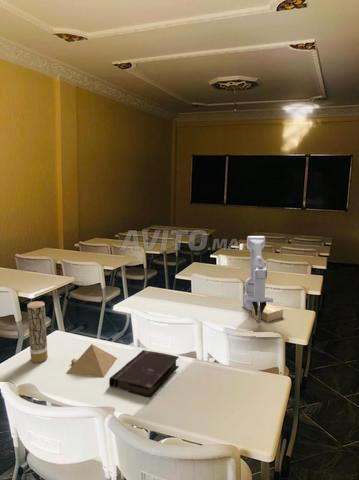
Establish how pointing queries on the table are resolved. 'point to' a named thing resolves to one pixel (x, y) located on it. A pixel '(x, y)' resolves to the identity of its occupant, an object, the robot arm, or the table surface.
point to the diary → (145, 373)
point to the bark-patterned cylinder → (37, 331)
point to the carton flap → (257, 315)
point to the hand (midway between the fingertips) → (258, 315)
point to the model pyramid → (92, 363)
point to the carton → (271, 312)
